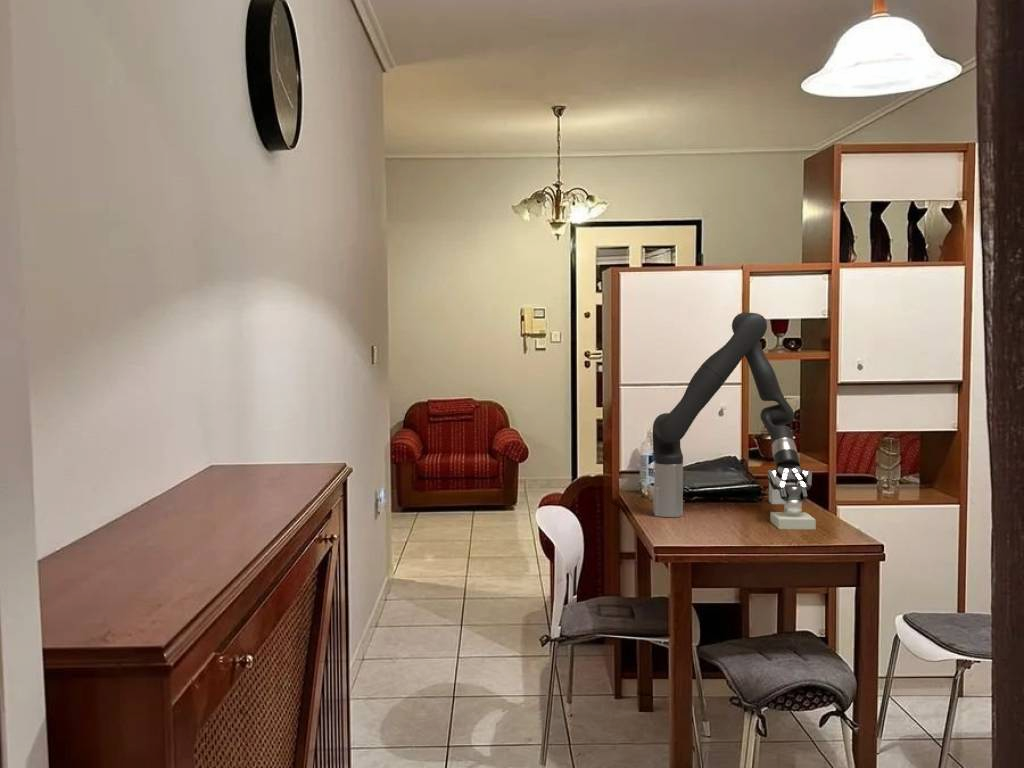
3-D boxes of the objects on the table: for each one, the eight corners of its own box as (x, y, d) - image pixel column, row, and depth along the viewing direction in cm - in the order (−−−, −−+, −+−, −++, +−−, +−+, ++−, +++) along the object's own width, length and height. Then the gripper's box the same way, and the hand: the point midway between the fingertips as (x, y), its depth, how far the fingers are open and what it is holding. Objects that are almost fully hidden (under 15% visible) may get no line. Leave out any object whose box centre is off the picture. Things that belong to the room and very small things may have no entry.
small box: (791, 501, 319) (792, 472, 319) (795, 504, 314) (795, 474, 313) (768, 501, 320) (768, 471, 320) (771, 504, 315) (771, 474, 314)
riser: (778, 529, 276) (779, 519, 276) (770, 521, 287) (770, 512, 286) (815, 529, 275) (815, 519, 275) (805, 521, 286) (805, 512, 286)
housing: (786, 513, 278) (786, 487, 278) (782, 509, 283) (782, 484, 283) (803, 513, 278) (803, 487, 277) (799, 510, 283) (799, 484, 283)
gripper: (764, 448, 287) (773, 492, 276) (810, 448, 287) (821, 492, 275) (760, 462, 293) (769, 506, 282) (805, 462, 292) (815, 506, 281)
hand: (794, 499), depth 279 cm, fingers closed on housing, 5 cm apart
